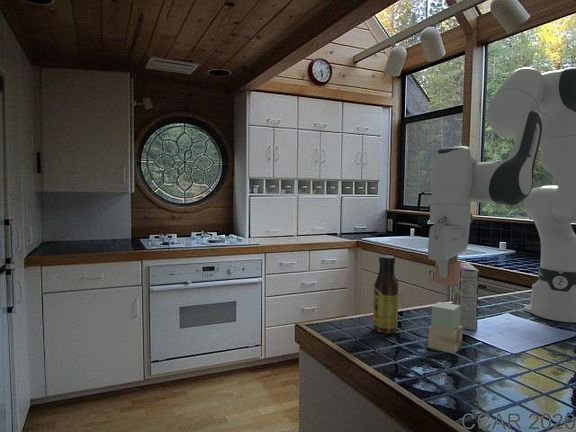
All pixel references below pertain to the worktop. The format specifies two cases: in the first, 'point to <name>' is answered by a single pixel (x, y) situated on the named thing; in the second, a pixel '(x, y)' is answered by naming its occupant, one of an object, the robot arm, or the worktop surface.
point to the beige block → (445, 339)
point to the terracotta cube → (453, 274)
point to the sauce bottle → (386, 297)
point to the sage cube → (445, 316)
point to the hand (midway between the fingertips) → (447, 275)
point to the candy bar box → (467, 296)
